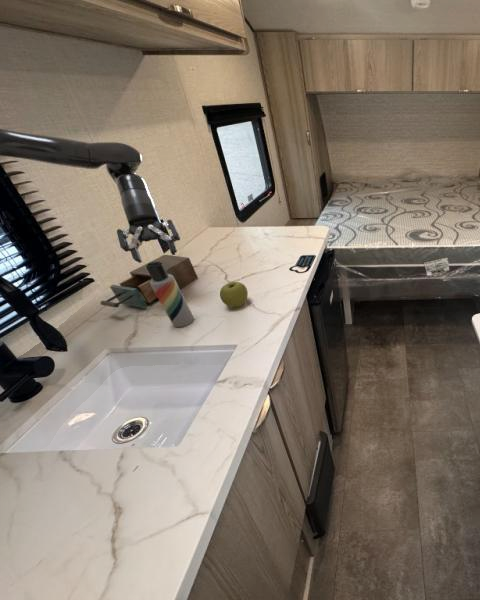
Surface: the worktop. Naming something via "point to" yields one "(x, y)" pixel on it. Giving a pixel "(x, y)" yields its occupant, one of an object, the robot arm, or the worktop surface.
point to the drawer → (132, 292)
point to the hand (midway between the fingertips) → (156, 257)
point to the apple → (234, 294)
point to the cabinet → (172, 269)
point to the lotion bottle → (169, 295)
